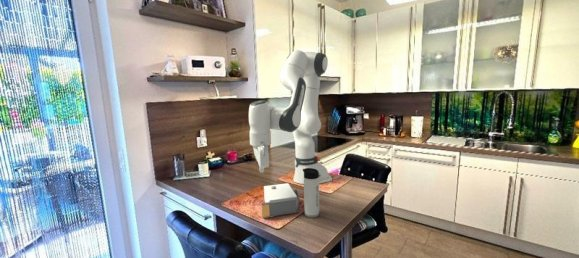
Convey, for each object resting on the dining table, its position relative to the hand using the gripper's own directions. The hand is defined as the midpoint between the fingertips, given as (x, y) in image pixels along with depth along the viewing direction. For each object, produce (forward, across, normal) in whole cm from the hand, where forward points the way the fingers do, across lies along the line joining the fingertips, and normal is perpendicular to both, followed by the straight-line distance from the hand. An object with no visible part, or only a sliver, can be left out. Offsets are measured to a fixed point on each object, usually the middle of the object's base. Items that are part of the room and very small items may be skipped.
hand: (261, 171), depth 105 cm
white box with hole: (+18, +4, -8) cm, 20 cm away
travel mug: (+18, -8, -19) cm, 28 cm away
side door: (+18, -5, -6) cm, 20 cm away
